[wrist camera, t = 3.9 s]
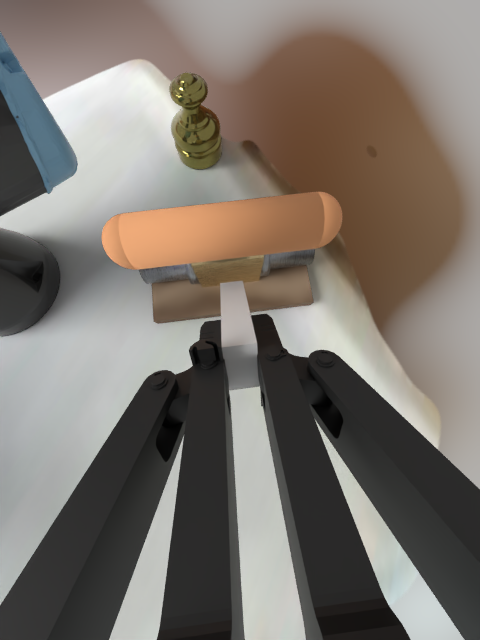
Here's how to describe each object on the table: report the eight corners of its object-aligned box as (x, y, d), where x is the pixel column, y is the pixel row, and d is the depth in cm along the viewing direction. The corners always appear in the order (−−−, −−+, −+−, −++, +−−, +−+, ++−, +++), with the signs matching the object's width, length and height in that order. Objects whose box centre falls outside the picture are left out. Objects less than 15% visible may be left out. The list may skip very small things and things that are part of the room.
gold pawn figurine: (171, 145, 38) (146, 69, 28) (209, 128, 39) (199, 47, 29) (190, 177, 37) (172, 109, 27) (230, 159, 37) (226, 86, 28)
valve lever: (276, 234, 25) (350, 250, 11) (174, 246, 25) (102, 279, 10) (275, 207, 24) (356, 181, 9) (168, 219, 24) (79, 212, 9)
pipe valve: (310, 304, 32) (334, 283, 24) (157, 323, 32) (128, 308, 23) (293, 219, 35) (310, 173, 27) (153, 235, 35) (125, 193, 26)
